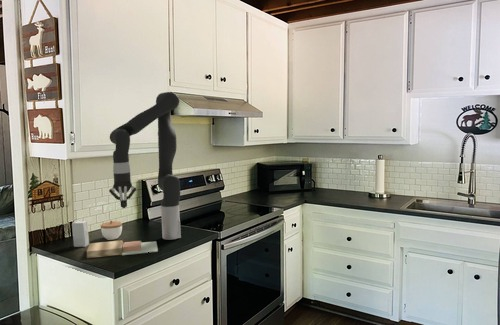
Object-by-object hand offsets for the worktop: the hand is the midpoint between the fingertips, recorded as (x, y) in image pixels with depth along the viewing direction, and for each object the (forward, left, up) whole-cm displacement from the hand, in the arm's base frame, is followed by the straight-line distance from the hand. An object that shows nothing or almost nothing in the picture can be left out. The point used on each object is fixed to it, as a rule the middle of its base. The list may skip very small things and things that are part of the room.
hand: (123, 207), depth 188 cm
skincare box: (+22, -12, -20) cm, 32 cm away
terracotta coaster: (-3, +3, -18) cm, 19 cm away
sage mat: (-6, +3, -20) cm, 21 cm away
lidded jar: (+8, -21, -20) cm, 30 cm away
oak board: (+9, +3, -20) cm, 22 cm away
